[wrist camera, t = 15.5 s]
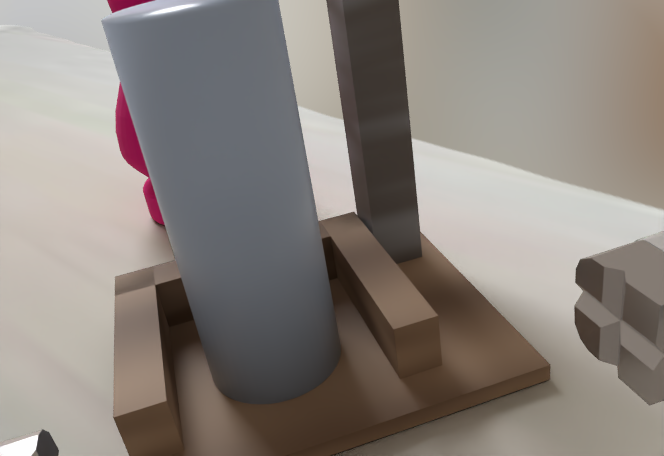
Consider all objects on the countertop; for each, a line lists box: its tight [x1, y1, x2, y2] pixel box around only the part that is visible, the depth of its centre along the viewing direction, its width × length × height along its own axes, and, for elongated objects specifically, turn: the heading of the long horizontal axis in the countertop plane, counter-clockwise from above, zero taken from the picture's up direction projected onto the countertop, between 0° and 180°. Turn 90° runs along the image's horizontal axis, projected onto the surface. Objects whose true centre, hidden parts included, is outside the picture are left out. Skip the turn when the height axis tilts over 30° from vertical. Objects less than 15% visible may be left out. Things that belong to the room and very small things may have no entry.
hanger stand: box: [113, 0, 550, 456], centre depth 19 cm, size 12×13×23 cm
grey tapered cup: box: [102, 0, 341, 404], centre depth 20 cm, size 5×5×12 cm
